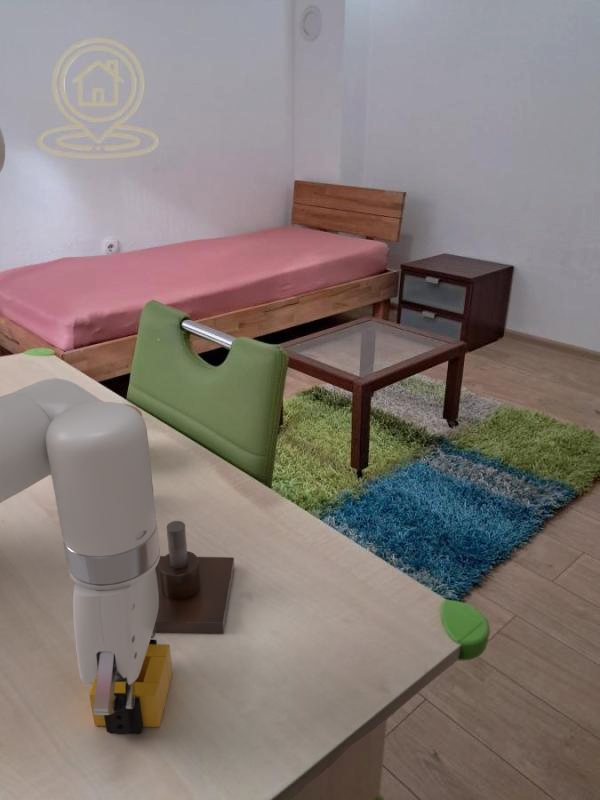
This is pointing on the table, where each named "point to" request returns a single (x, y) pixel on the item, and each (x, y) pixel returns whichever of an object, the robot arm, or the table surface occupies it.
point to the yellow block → (146, 686)
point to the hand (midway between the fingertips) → (134, 698)
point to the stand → (191, 587)
